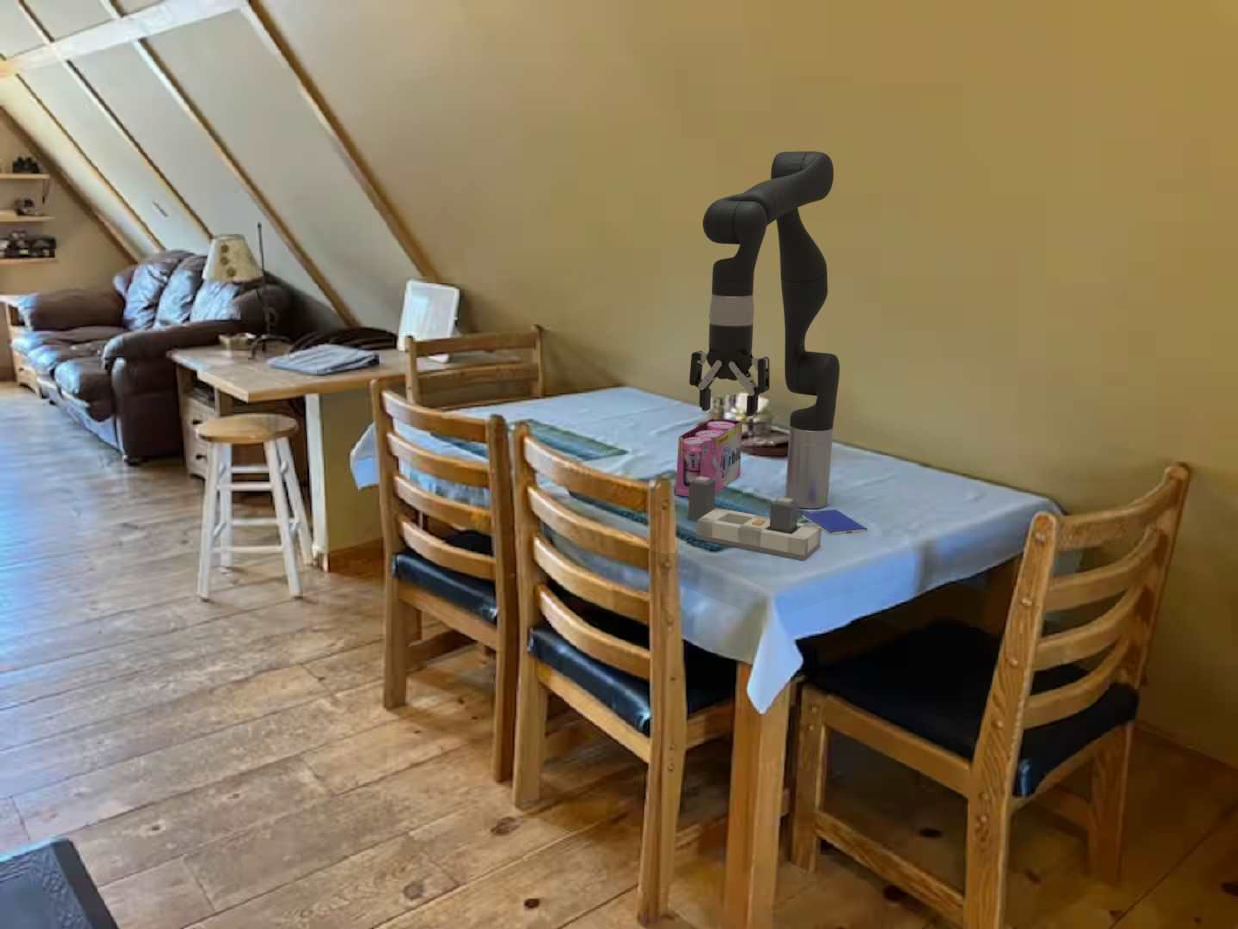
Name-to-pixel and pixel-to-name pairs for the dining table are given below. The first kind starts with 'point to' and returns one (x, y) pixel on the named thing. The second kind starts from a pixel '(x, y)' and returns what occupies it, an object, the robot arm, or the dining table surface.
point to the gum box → (709, 454)
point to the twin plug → (784, 515)
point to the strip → (757, 534)
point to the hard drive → (834, 522)
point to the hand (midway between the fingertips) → (727, 412)
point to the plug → (701, 497)
